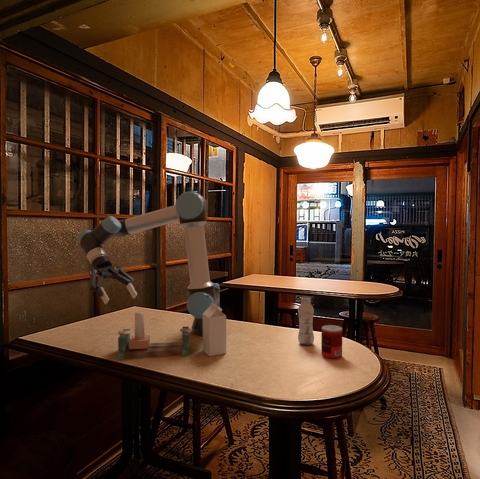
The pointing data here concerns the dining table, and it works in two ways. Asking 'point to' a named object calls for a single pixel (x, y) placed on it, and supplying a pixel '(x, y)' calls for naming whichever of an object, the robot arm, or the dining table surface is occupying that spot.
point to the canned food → (331, 342)
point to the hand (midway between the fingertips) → (122, 299)
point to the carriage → (139, 334)
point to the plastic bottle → (306, 321)
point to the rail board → (153, 346)
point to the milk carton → (214, 331)
